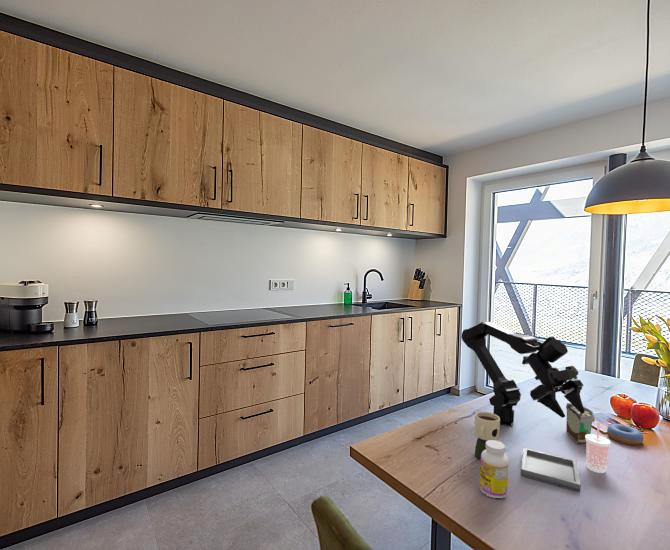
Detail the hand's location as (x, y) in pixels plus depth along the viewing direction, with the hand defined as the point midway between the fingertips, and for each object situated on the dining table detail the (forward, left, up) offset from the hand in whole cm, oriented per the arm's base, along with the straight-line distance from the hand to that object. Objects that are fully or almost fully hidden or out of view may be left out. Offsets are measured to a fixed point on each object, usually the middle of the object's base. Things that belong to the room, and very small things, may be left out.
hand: (573, 414), depth 116 cm
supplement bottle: (-19, -32, -13) cm, 40 cm away
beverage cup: (+6, -4, -13) cm, 15 cm away
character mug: (-23, -15, -13) cm, 31 cm away
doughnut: (+17, +24, -14) cm, 32 cm away
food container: (+4, +16, -13) cm, 21 cm away
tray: (-6, -13, -13) cm, 20 cm away
